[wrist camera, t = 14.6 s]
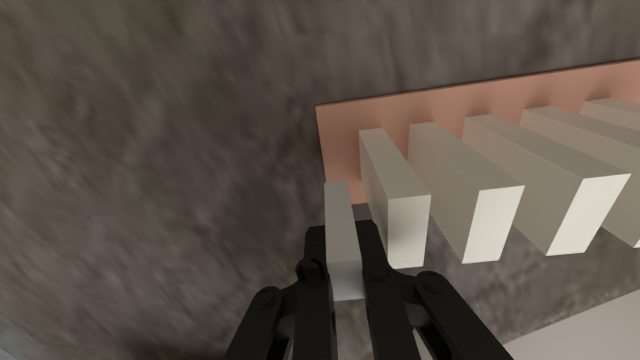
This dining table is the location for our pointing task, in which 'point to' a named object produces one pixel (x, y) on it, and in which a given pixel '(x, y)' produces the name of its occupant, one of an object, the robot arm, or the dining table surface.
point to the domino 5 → (604, 144)
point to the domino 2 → (464, 192)
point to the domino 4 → (613, 111)
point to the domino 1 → (394, 199)
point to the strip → (460, 110)
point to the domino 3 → (549, 183)
